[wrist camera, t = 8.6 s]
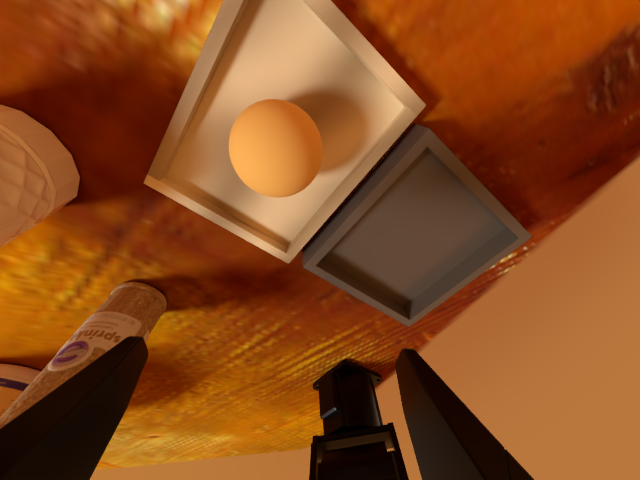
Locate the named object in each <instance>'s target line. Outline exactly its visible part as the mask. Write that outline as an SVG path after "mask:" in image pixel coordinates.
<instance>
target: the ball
mask: <svg viewBox="0 0 640 480" xmlns="http://www.w3.org/2000/svg"><path fill="white" fill-rule="evenodd" d="M229 155H230V159H231V162H232V165H233V167H234V169H235V171H236V173H237V175H238V176H239V177H240V179H241V180H242V181H243V182H244V183H245V184H246V185H247V186H248V187H249V188H251V189H252V190H254V191H256V192H257V193H260V194H262V195H265V196H269V197H277V198H281V197H288V196H292V195H295V194H297V193H299V192H301V191H302V190H304V189H305V188H306V187H307V186H309V185H310V184H311V182H312V181H313V180H314V178H315V177H316V175H317V173H318V171H319V169H320V166H321V162H322V156H323V147H322V140H321V136H320V133H319V130H318V128H317V126H316V124H315V123H314V121H313V120H312V119H311V117H310V116H309V115H308V114H307V113H306V112H305V111H304V110H302V109H301V108H300V107H298V106H296V105H295V104H293V103H290V102H288V101H284V100H280V99H266V100H262V101H258V102H256V103H253V104H252V105H250V106H248V107H247V108H246V109H245V110H243V112H242V113H241V114H240V115H239V116H238V117H237V119H236V120H235V122H234V124H233V126H232V129H231V132H230V137H229Z"/></svg>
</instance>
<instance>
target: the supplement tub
mask: <svg viewBox="0 0 640 480" xmlns="http://www.w3.org/2000/svg"><path fill="white" fill-rule="evenodd" d="M40 372H41V371H38V370H35V369H31V368H27V367H23V366H18V365H11V364H0V417H1V416H2V415H3V414H4V413H5V411H6V410H7V409H8V408H9V407H10V406H11V404H12V403H13V402H14V401H15V400H16V399H17V398H18V397H19V396H20V395H21V394H22V392H23V391H24V390H25V389H26V388H27V386H29V385H30V384H31V382H32V381H33V380H34V379H35V378H36V376H37V375H38V374H39V373H40Z"/></svg>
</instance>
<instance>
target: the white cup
mask: <svg viewBox="0 0 640 480" xmlns="http://www.w3.org/2000/svg"><path fill="white" fill-rule="evenodd" d="M79 182H80V176H79V173H78V170H77V168H76V165H75V162H74V160H73V157H72V155H71V154H70V152H69V151H68V150H67V149H66V148H65V146H64V145H63V144H62V143H61V142H60V141H59V139H58V138H57V137H56V136H55V135H54V134H53V132H52V131H51V130H49V129H48V128H46V127H45V126H43V125H42V124H40V123H39V122H37V121H36V120H34V119H33V118H31V117H30V116H28V115H27V114H25V113H24V112H22V111H20V110H17V109H14V108H11V107H7V106H4V105H1V104H0V247H2V246H3V245H5V244H7V243H9V242H10V241H12V240H14V239H15V238H17V237H18V236H20V235H21V234H22V233H24V232H26V231H28V230H29V229H31V228H33V227H34V226H36V225H37V224H39V223H40V222H41V221H42V219H44V218H45V217H47V216H49V215H51V214H52V213H54V212H56V211H57V210H59V209H61V208H63V207H64V206H65V205H66V204H68V203H69V202H70V201H71V200H73V199H74V198H75V197H76V196H77V193H78V187H79Z"/></svg>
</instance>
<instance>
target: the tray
mask: <svg viewBox="0 0 640 480" xmlns="http://www.w3.org/2000/svg"><path fill="white" fill-rule="evenodd" d="M266 99H280V100H284V101H288V102H290V103H293V104H295V105H296V106H298V107H300V108H301V109H302V110H304V111H305V112H306V113H307V114H308V115H309V116H310V117H311V119H312V120H313V121H314V123H315V124H316V126H317V128H318V130H319V133H320V136H321V140H322V147H323V156H322V162H321V166H320V169H319V171H318V173H317V175H316V177H315V178H314V180H313V181H312V182H311V184H310V185H309V186H307V187H306V188H305V189H304V190H302V191H301V192H299V193H297V194H295V195H292V196H288V197H281V198H277V197H269V196H265V195H262V194H260V193H257V192H256V191H254V190H252V189H251V188H249V187H248V186H247V185H246V184H245V183H244V182H243V181H242V180H241V179H240V177H239V176H238V175H237V173H236V171H235V169H234V167H233V165H232V162H231V159H230V155H229V137H230V132H231V129H232V126H233V124H234V122H235V120H236V119H237V117H238V116H239V115H240V114H241V113H242V112H243V110H245V109H246V108H247V107H248V106H250V105H252V104H253V103H256V102H258V101H262V100H266ZM425 106H426V104H425V103H424V102H423V101H422V100H421V99H420V98H419V97H418V96H417V94H416V93H415V92H414V91H413V90H412V89H411V88H410V87H409V86H408V85H407V83H406V82H405V81H404V80H403V79H402V78H401V77H400V76H399V75H398V74H397V72H396V71H395V70H394V69H393V68H392V67H391V66H390V65H389V64H388V63H387V61H386V60H385V59H384V58H383V57H382V56H381V55H380V54H379V53H378V52H377V51H376V49H375V48H374V47H373V46H372V45H371V44H370V43H369V42H368V41H367V40H366V38H365V37H364V36H363V35H362V34H361V33H360V32H359V31H358V30H357V29H356V27H355V26H354V25H353V24H352V23H351V22H350V21H349V20H348V19H347V18H346V16H345V15H344V14H343V13H342V12H341V11H340V10H339V9H338V8H337V7H336V5H335V4H334V3H333V2H332V1H331V0H224V1H223V3H222V5H221V7H220V10H219V12H218V14H217V17H216V19H215V21H214V23H213V26H212V28H211V30H210V32H209V35H208V37H207V39H206V42H205V44H204V46H203V48H202V51H201V53H200V55H199V58H198V60H197V62H196V64H195V67H194V69H193V71H192V74H191V76H190V78H189V80H188V83H187V85H186V87H185V89H184V92H183V94H182V96H181V99H180V101H179V103H178V105H177V108H176V110H175V112H174V115H173V117H172V119H171V121H170V124H169V126H168V128H167V131H166V133H165V135H164V137H163V140H162V142H161V144H160V146H159V149H158V151H157V153H156V156H155V158H154V160H153V162H152V165H151V167H150V169H149V172H148V174H147V176H146V178H145V181H144V184H146V185H148V186H149V187H151V188H153V189H155V190H157V191H158V192H160V193H162V194H164V195H166V196H167V197H169V198H171V199H173V200H175V201H176V202H178V203H180V204H182V205H184V206H185V207H187V208H189V209H191V210H193V211H194V212H196V213H198V214H200V215H202V216H203V217H205V218H207V219H209V220H211V221H212V222H214V223H216V224H218V225H220V226H221V227H223V228H225V229H227V230H229V231H230V232H232V233H234V234H236V235H238V236H239V237H241V238H243V239H245V240H247V241H248V242H250V243H252V244H254V245H256V246H257V247H259V248H261V249H263V250H265V251H266V252H268V253H270V254H272V255H274V256H275V257H277V258H279V259H281V260H283V261H284V262H286V263H288V264H289V263H290V262H291V260H292V259H293V258H294V257H295V256H296V255H297V254H298V252H299V251H300V250H301V249H302V248H303V247H304V245H305V244H306V243H307V242H308V241H309V240H310V239H311V237H312V236H313V235H314V234H315V233H316V232H317V231H318V229H319V228H320V227H321V226H322V225H323V224H324V222H325V221H326V220H327V219H328V218H329V217H330V216H331V214H332V213H333V212H334V211H335V210H336V209H337V208H338V206H339V205H340V204H341V203H342V202H343V201H344V199H345V198H346V197H347V196H348V195H349V194H350V193H351V191H352V190H353V189H354V188H355V187H356V186H357V185H358V183H359V182H360V181H361V180H362V179H363V178H364V177H365V175H366V174H367V173H368V172H369V171H370V170H371V168H372V167H373V166H374V165H375V164H376V163H377V162H378V160H379V159H380V158H381V157H382V156H383V155H384V154H385V152H386V151H387V150H388V149H389V148H390V147H391V145H392V144H393V143H394V142H395V141H396V140H397V139H398V137H399V136H400V135H401V134H402V133H403V132H404V131H405V129H406V128H407V127H408V126H409V125H410V124H411V122H412V121H413V120H414V119H415V118H416V117H417V116H418V114H419V113H420V112H421V111H422V110H423V109H424V108H425Z"/></svg>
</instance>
